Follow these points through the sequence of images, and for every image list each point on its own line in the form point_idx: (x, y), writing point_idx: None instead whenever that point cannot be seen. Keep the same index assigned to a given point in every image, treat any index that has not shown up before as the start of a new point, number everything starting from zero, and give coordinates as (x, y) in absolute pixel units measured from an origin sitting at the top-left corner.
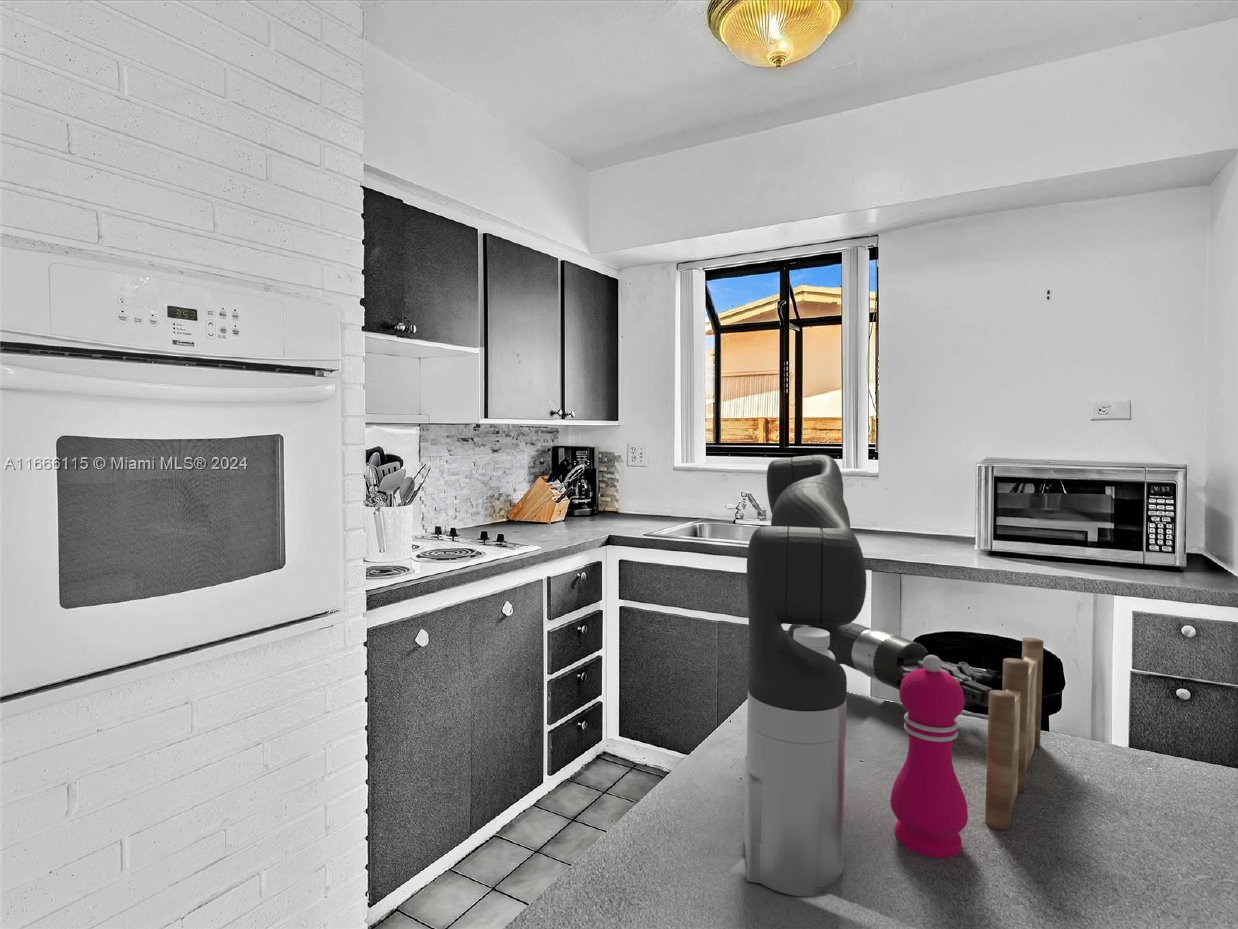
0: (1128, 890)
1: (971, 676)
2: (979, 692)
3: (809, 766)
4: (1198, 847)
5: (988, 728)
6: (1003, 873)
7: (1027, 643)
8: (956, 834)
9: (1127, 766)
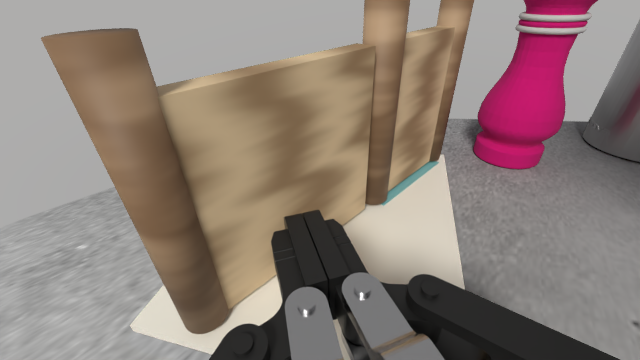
0: None
1: (259, 331)
2: (333, 222)
3: None
4: None
5: (463, 48)
6: None
7: (138, 40)
8: (482, 134)
9: (106, 254)
